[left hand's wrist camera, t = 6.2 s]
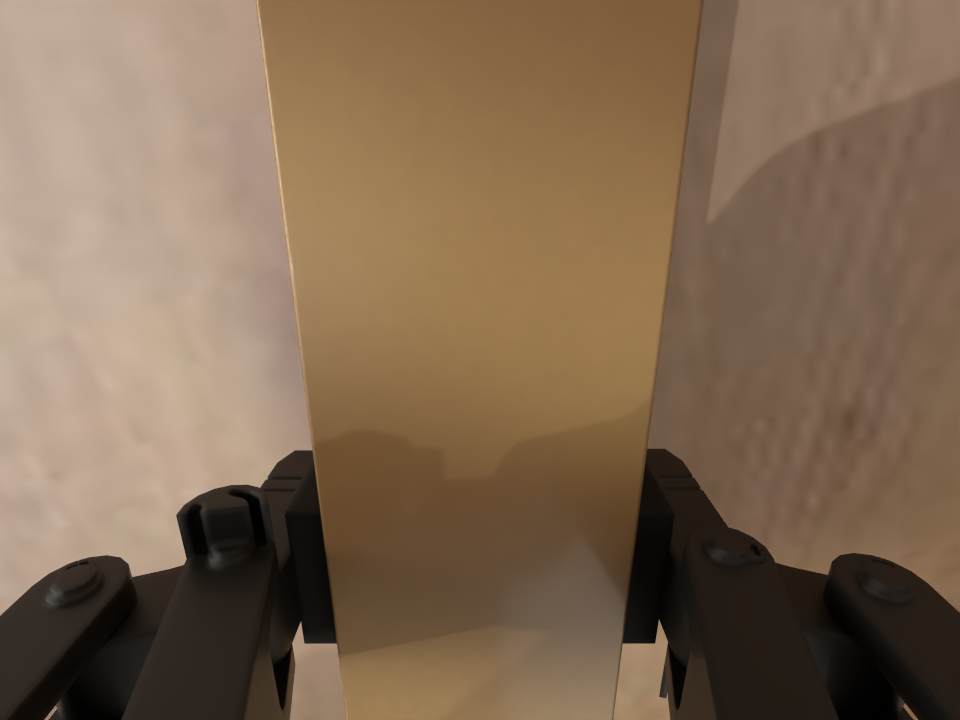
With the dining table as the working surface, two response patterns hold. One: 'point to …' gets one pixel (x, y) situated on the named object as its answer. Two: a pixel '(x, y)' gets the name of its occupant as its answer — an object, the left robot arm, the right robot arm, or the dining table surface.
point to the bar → (479, 329)
